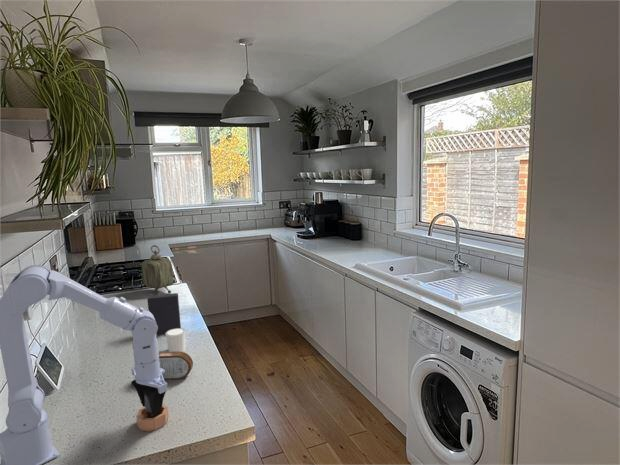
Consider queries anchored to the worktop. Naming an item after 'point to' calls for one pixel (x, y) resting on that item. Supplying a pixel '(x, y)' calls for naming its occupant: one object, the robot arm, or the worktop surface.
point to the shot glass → (176, 339)
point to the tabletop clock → (157, 272)
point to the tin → (175, 364)
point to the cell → (149, 409)
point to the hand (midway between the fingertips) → (151, 408)
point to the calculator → (165, 311)
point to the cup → (152, 419)
